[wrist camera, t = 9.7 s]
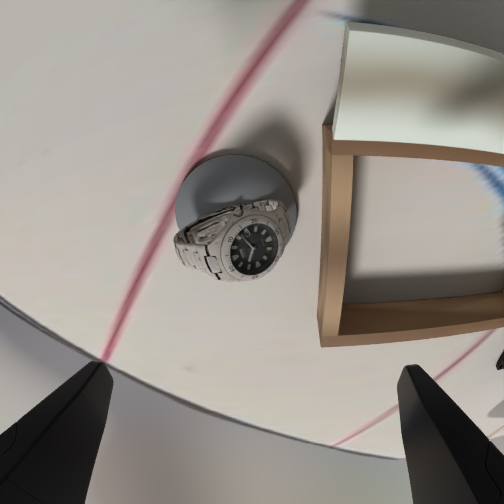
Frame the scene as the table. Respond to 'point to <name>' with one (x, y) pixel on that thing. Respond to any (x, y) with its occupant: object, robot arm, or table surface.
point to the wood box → (412, 146)
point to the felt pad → (231, 188)
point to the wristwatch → (236, 240)
